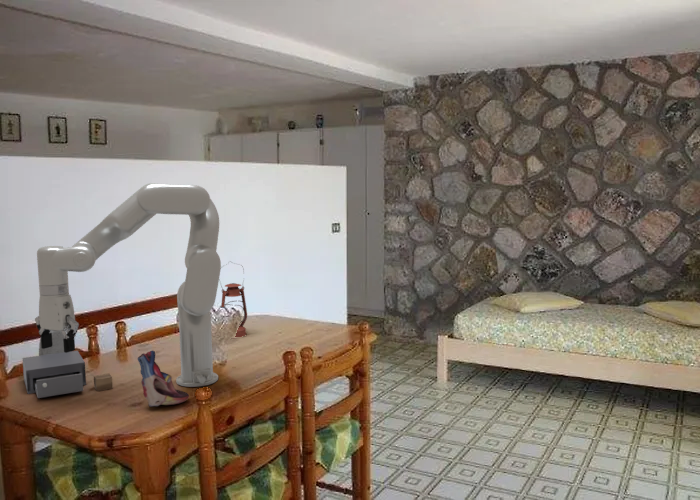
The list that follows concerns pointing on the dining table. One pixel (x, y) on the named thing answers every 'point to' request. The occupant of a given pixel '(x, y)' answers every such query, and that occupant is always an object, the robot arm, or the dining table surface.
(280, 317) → the dining table surface
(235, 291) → the lantern
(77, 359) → the box
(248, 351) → the dining table surface
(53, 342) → the decorative stone
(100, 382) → the tan cube
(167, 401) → the anatomical model
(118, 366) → the dining table surface
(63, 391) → the grey drawer
